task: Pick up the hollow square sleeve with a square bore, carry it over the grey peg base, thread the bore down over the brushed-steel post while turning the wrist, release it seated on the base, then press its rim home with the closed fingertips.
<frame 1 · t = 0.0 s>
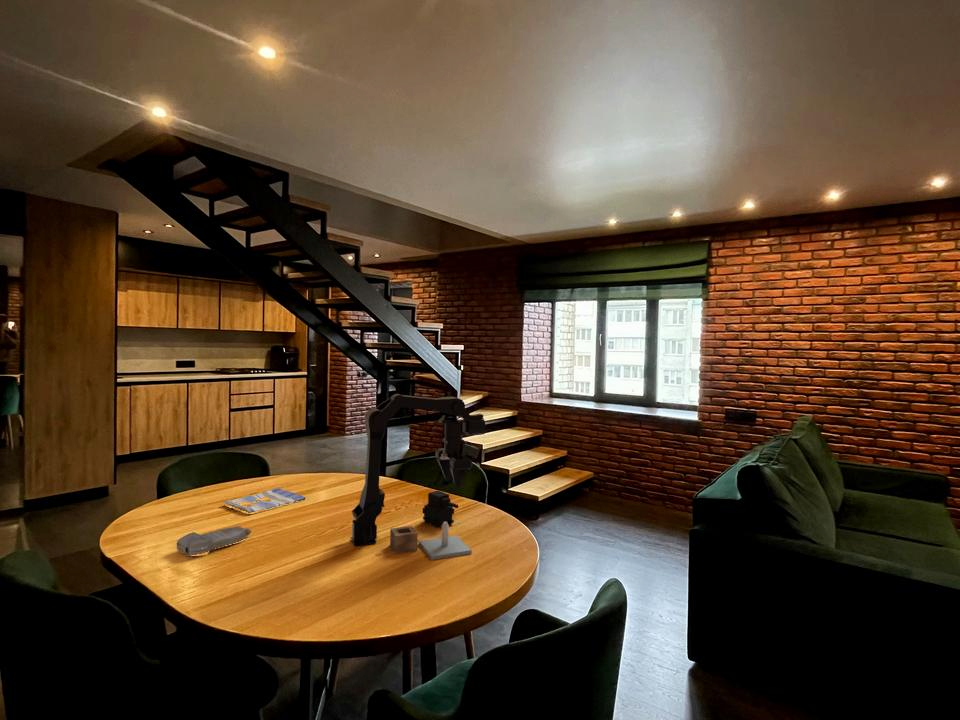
hand: (452, 484, 164), 15 cm above the table, fingers open, 9 cm apart
toy: (442, 525, 169), on the table
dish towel: (264, 505, 189), on the table
grey peg base: (444, 548, 149), on the table
hollow square sleeve: (403, 547, 149), on the table
handheld device: (217, 546, 149), on the table
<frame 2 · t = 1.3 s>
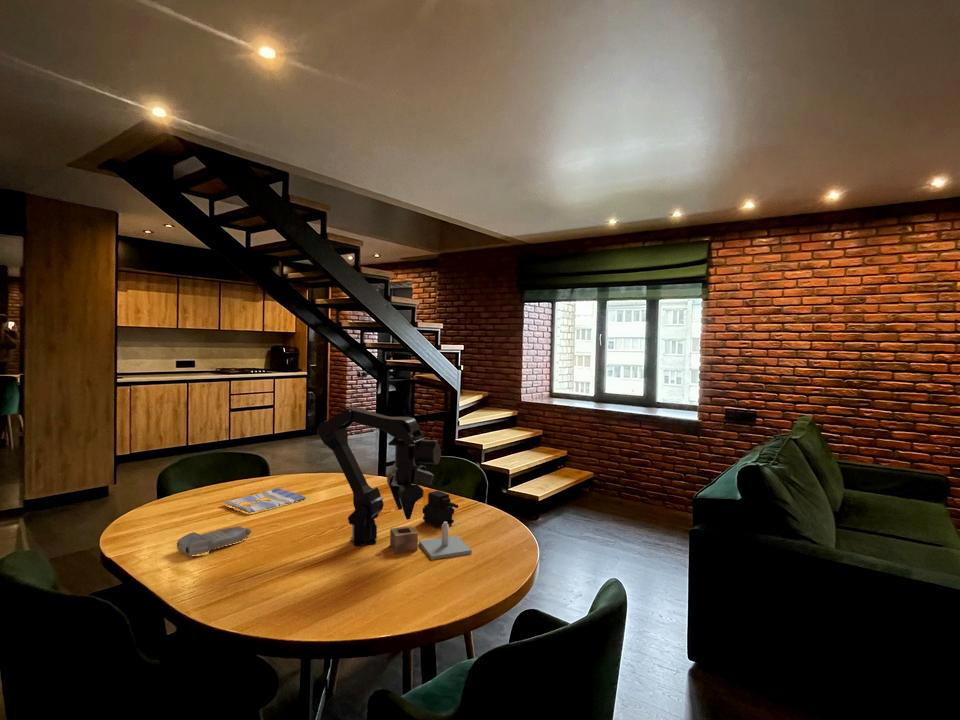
hand: (403, 514, 149), 10 cm above the table, fingers open, 9 cm apart
nothing on the table moved.
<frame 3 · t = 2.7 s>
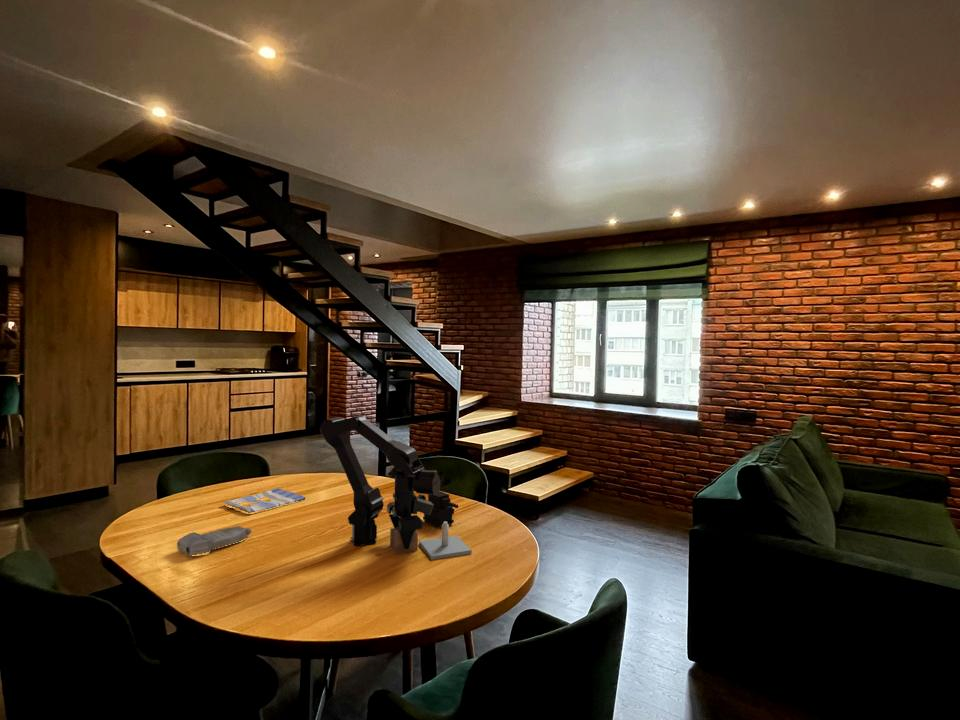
hand: (403, 544, 149), 1 cm above the table, fingers closed on hollow square sleeve, 6 cm apart
hollow square sleeve: (403, 547, 149), on the table, touching gripper
everything else where it was.
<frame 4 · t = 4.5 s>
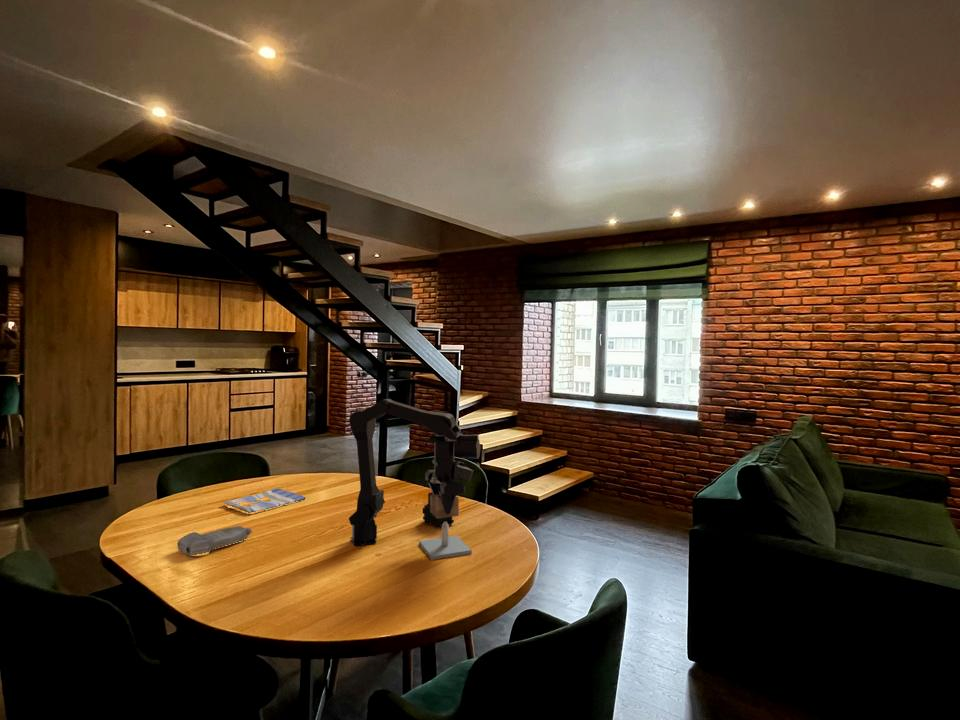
hand: (444, 510, 149), 11 cm above the table, fingers closed on hollow square sleeve, 6 cm apart
hollow square sleeve: (444, 513, 149), point 10 cm above the table, touching gripper
everything else where it was.
when the fingers open (3 cm above the table, at t = 6.6 s): hollow square sleeve stays where it is, resting on grey peg base.
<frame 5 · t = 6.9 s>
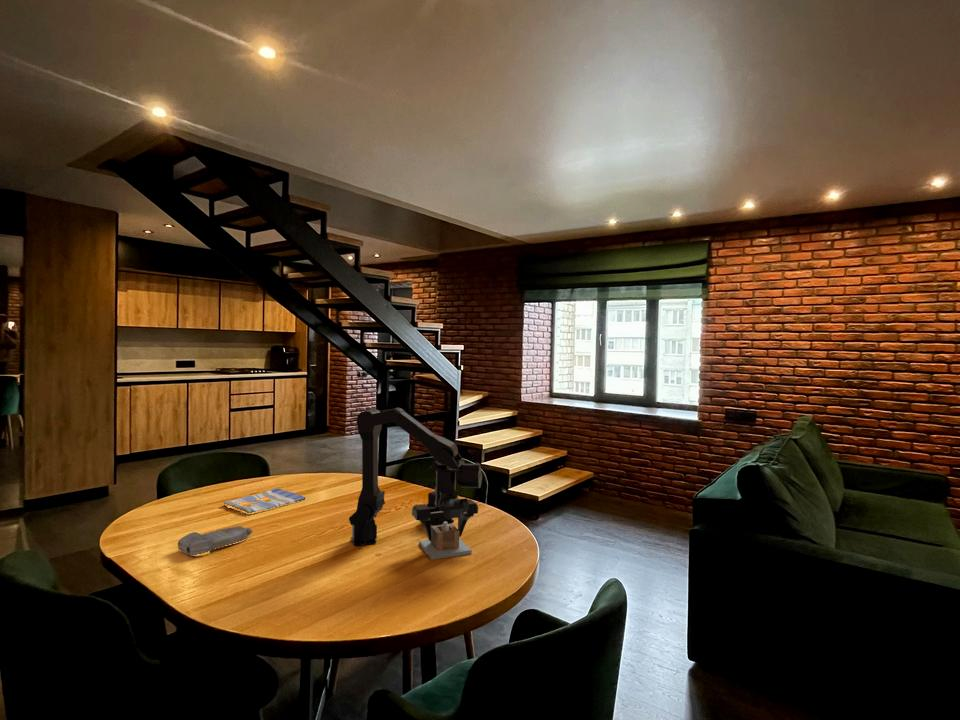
hand: (444, 538, 149), 3 cm above the table, fingers open, 9 cm apart
hollow square sleeve: (444, 545, 149), point 1 cm above the table, touching grey peg base
everything else where it was.
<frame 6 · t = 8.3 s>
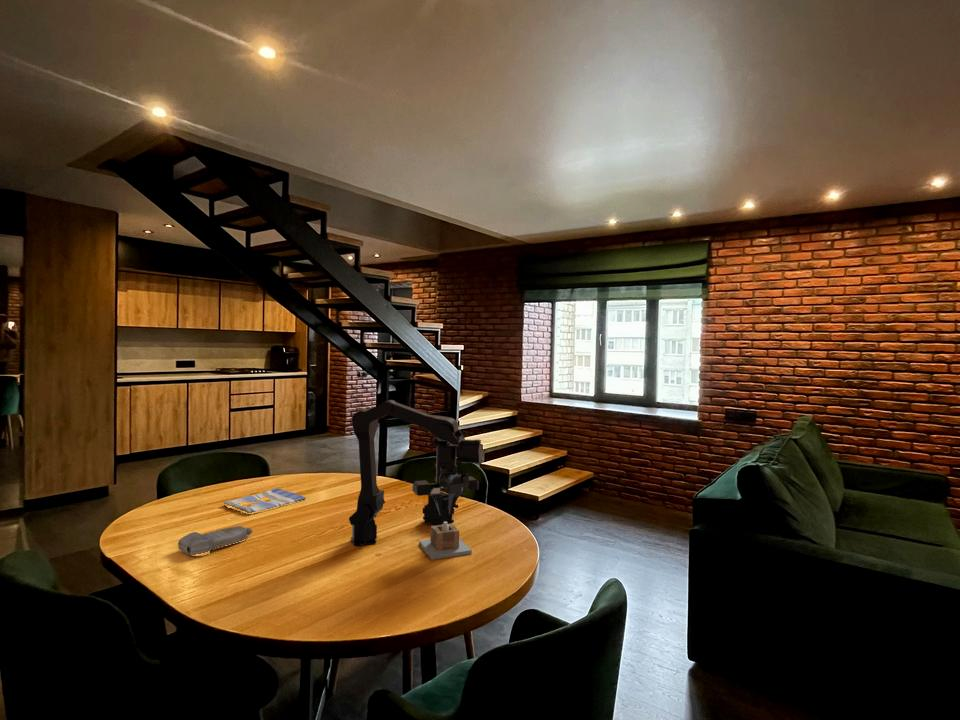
hand: (445, 514, 149), 10 cm above the table, fingers open, 3 cm apart
nothing on the table moved.
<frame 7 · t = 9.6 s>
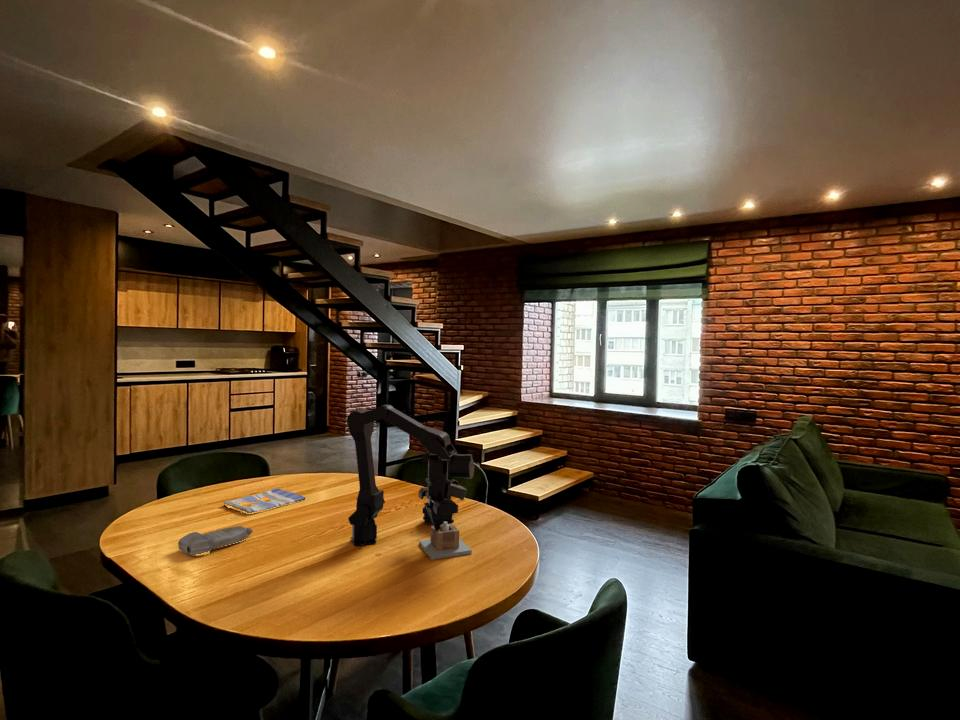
hand: (437, 529, 148), 6 cm above the table, fingers closed, pressing on hollow square sleeve
hollow square sleeve: (444, 545, 149), point 1 cm above the table, touching gripper, grey peg base
everything else where it was.
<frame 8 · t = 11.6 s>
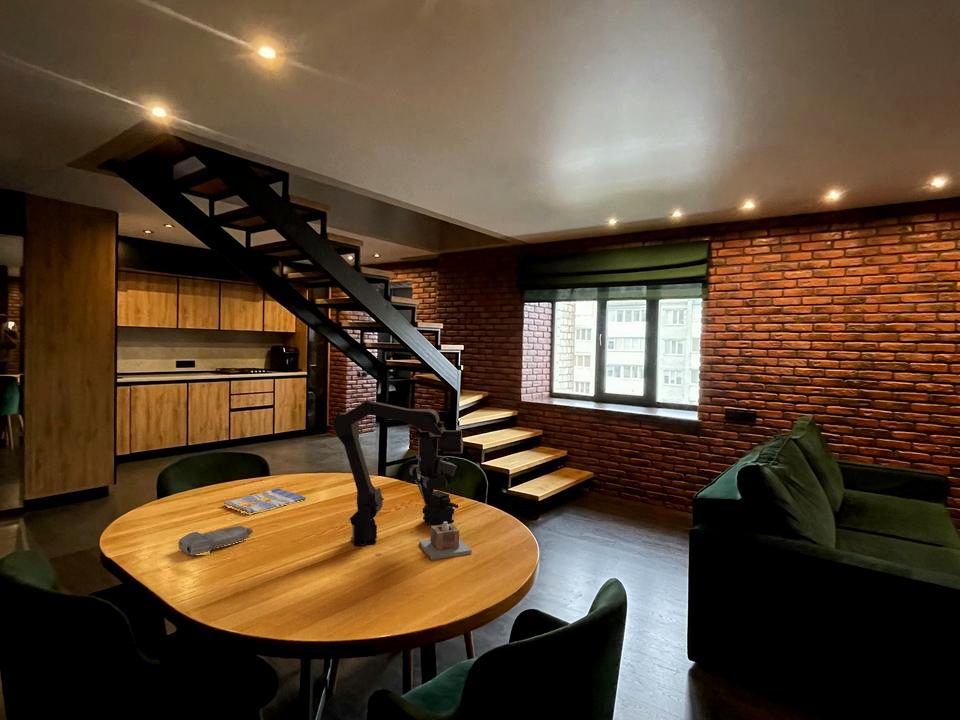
hand: (427, 504, 152), 12 cm above the table, fingers closed
hollow square sleeve: (444, 545, 149), point 1 cm above the table, touching grey peg base
everything else where it was.
at the end: hollow square sleeve 0.1 cm off-centre on the grey peg base, point 1.0 cm above the grey peg base's base; hollow square sleeve tilted 0°; the gripper is holding nothing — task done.
